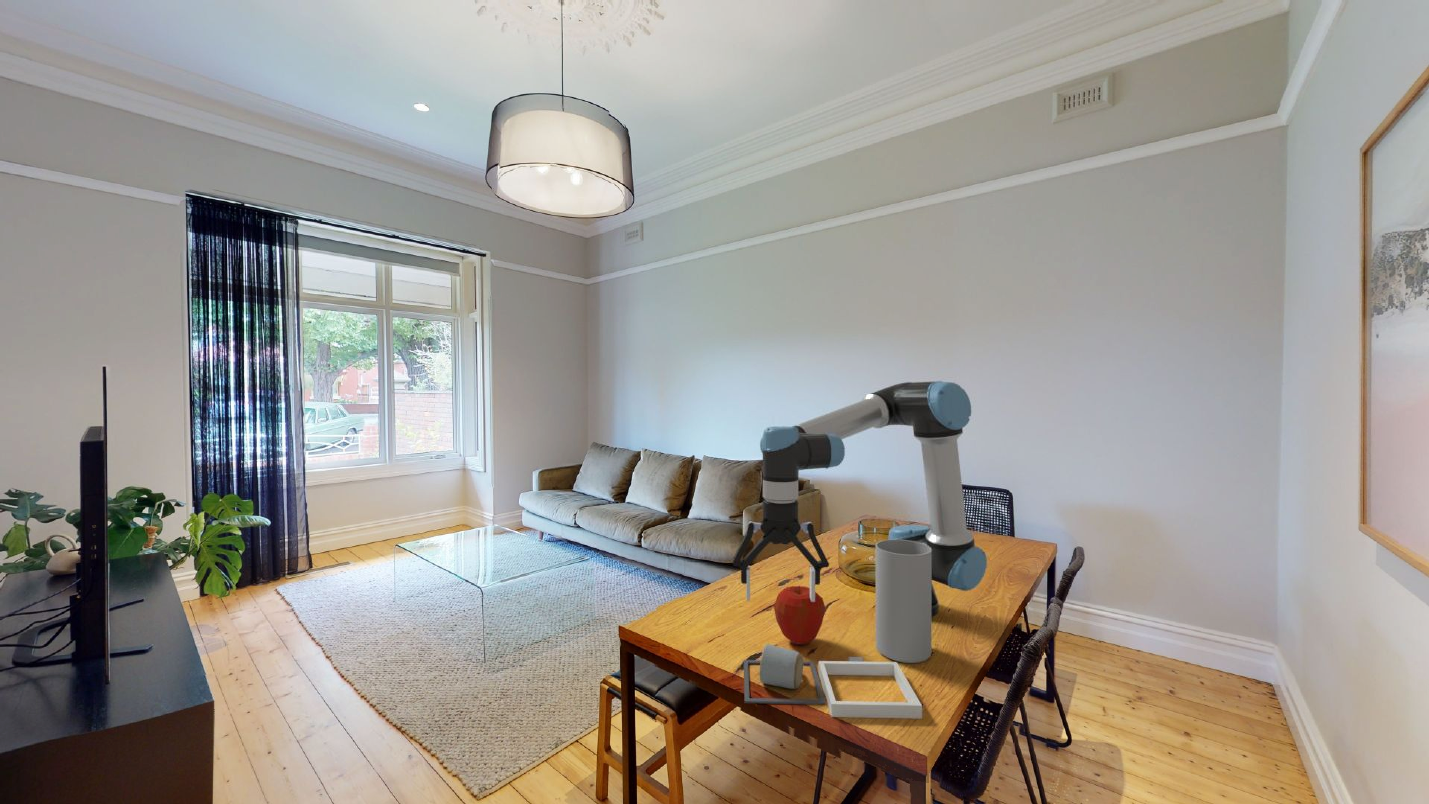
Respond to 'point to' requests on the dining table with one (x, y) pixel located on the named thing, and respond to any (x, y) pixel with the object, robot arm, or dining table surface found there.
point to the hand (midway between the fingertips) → (780, 598)
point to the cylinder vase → (903, 600)
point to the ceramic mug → (781, 667)
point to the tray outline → (783, 701)
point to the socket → (869, 708)
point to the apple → (799, 614)
